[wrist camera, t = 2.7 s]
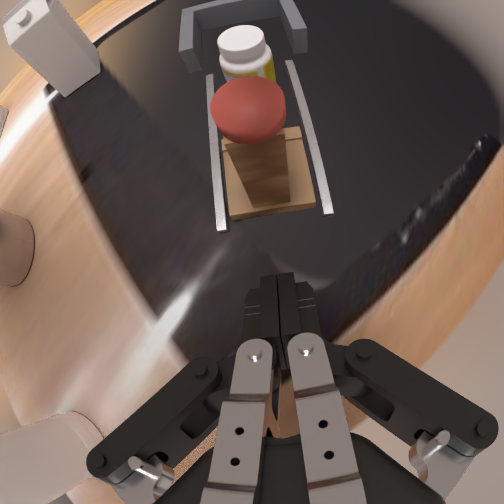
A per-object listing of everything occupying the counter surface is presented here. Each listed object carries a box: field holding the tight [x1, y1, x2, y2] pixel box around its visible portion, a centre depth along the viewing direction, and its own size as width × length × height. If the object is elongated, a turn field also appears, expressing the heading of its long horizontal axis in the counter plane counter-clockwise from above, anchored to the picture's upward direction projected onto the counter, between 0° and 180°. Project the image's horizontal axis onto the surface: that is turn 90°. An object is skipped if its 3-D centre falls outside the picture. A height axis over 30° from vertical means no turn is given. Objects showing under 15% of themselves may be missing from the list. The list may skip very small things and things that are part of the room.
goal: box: [179, 0, 307, 74], centre depth 28 cm, size 14×11×4 cm
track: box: [206, 60, 334, 233], centre depth 26 cm, size 10×18×1 cm, turn 7°
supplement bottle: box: [217, 25, 276, 83], centre depth 23 cm, size 5×5×8 cm
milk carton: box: [0, 0, 101, 97], centre depth 25 cm, size 7×7×19 cm
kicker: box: [210, 76, 316, 221], centre depth 19 cm, size 7×7×13 cm
